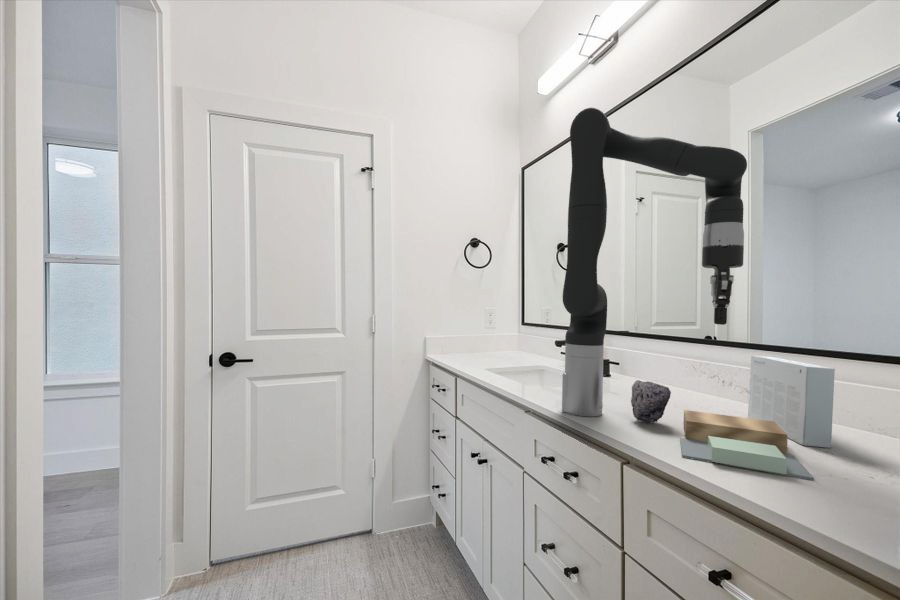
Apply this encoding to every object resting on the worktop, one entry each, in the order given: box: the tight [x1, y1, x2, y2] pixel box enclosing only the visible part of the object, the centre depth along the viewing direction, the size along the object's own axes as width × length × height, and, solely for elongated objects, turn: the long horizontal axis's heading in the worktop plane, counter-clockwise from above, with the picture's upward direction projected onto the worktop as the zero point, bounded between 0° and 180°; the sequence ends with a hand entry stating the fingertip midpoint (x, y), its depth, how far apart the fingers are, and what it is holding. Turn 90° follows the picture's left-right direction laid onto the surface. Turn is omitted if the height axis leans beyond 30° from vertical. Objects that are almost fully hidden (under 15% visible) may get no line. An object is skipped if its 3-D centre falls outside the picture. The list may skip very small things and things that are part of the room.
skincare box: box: [747, 355, 836, 449], centre depth 89 cm, size 21×5×16 cm, turn 168°
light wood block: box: [683, 409, 788, 455], centre depth 81 cm, size 16×10×4 cm, turn 62°
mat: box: [679, 437, 815, 481], centre depth 72 cm, size 18×11×1 cm, turn 62°
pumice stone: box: [630, 380, 672, 424], centre depth 93 cm, size 10×8×10 cm
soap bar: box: [708, 436, 787, 476], centre depth 69 cm, size 10×7×2 cm
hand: (720, 324), depth 87 cm, fingers closed
